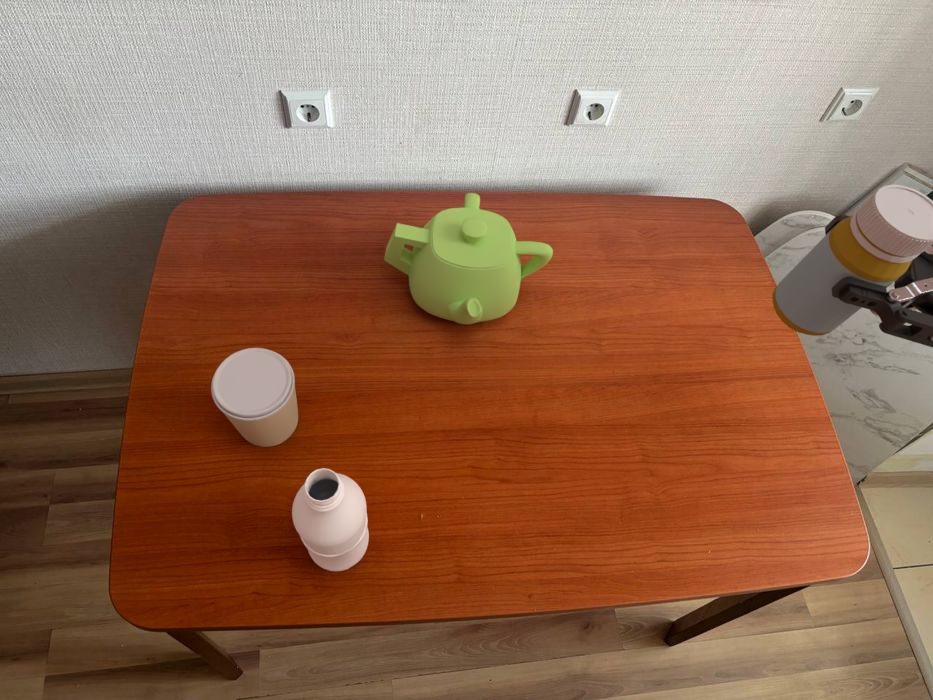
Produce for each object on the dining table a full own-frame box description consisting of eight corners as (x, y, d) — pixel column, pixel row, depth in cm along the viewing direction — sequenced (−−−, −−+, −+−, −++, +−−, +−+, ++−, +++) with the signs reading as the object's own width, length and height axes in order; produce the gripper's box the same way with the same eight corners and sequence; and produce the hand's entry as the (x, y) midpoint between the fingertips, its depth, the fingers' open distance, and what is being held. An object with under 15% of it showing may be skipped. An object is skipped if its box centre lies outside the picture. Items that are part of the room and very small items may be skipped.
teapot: (466, 224, 100) (478, 159, 88) (548, 302, 94) (574, 245, 82) (377, 277, 93) (376, 214, 80) (461, 366, 87) (474, 314, 74)
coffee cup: (316, 401, 81) (307, 360, 71) (285, 463, 77) (270, 428, 66) (253, 379, 82) (235, 335, 71) (218, 439, 77) (193, 401, 67)
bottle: (791, 273, 65) (894, 169, 52) (845, 316, 62) (966, 220, 49) (756, 304, 62) (854, 202, 49) (810, 350, 60) (929, 257, 47)
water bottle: (324, 506, 74) (302, 434, 53) (378, 525, 74) (377, 461, 53) (299, 562, 71) (263, 509, 49) (355, 583, 71) (344, 539, 49)
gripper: (988, 385, 54) (812, 338, 54) (958, 267, 62) (804, 225, 62) (1070, 344, 48) (871, 290, 48) (1026, 217, 55) (853, 171, 55)
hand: (833, 254), depth 55 cm, fingers closed on bottle, 7 cm apart
